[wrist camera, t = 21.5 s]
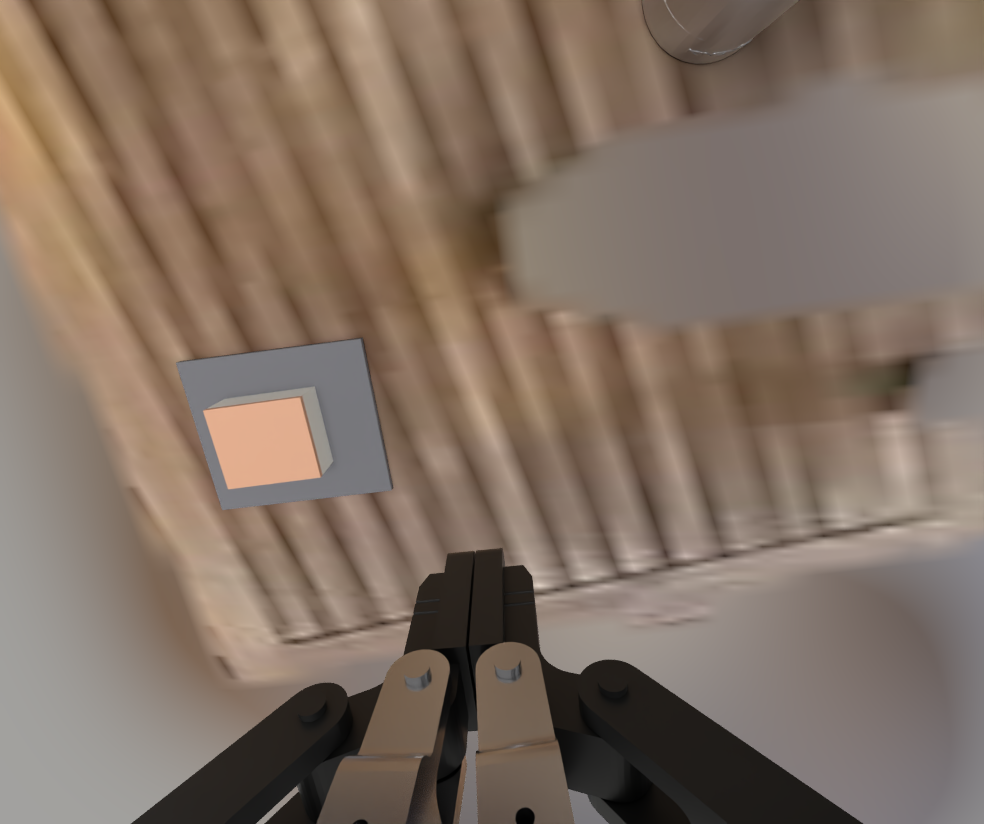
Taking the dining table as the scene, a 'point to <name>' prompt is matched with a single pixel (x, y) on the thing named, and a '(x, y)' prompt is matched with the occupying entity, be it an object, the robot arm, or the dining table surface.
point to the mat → (341, 403)
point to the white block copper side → (269, 437)
